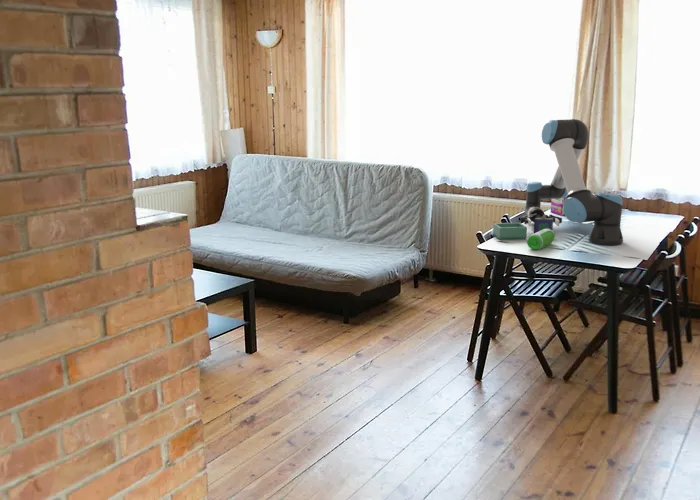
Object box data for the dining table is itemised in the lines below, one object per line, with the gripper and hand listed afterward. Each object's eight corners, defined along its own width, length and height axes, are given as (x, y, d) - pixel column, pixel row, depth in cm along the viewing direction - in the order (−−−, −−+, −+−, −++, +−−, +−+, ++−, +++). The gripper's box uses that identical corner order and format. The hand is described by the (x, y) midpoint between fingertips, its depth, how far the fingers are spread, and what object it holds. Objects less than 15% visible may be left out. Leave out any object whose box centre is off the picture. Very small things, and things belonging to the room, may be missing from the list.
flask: (551, 235, 327) (552, 214, 324) (553, 236, 324) (554, 215, 321) (532, 235, 327) (534, 214, 324) (534, 237, 324) (535, 215, 321)
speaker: (540, 252, 296) (541, 235, 295) (525, 249, 301) (526, 233, 299) (555, 244, 310) (556, 228, 308) (540, 242, 314) (541, 226, 312)
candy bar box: (569, 215, 375) (571, 186, 371) (561, 215, 373) (563, 187, 369) (557, 211, 385) (559, 183, 381) (550, 212, 384) (552, 184, 380)
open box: (526, 239, 320) (527, 227, 318) (499, 240, 318) (500, 227, 317) (519, 234, 330) (519, 222, 328) (492, 235, 328) (493, 223, 327)
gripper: (560, 222, 342) (569, 231, 322) (511, 221, 344) (518, 230, 324) (561, 207, 340) (571, 216, 320) (512, 207, 342) (518, 215, 322)
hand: (544, 223), depth 322 cm, fingers open, 13 cm apart
